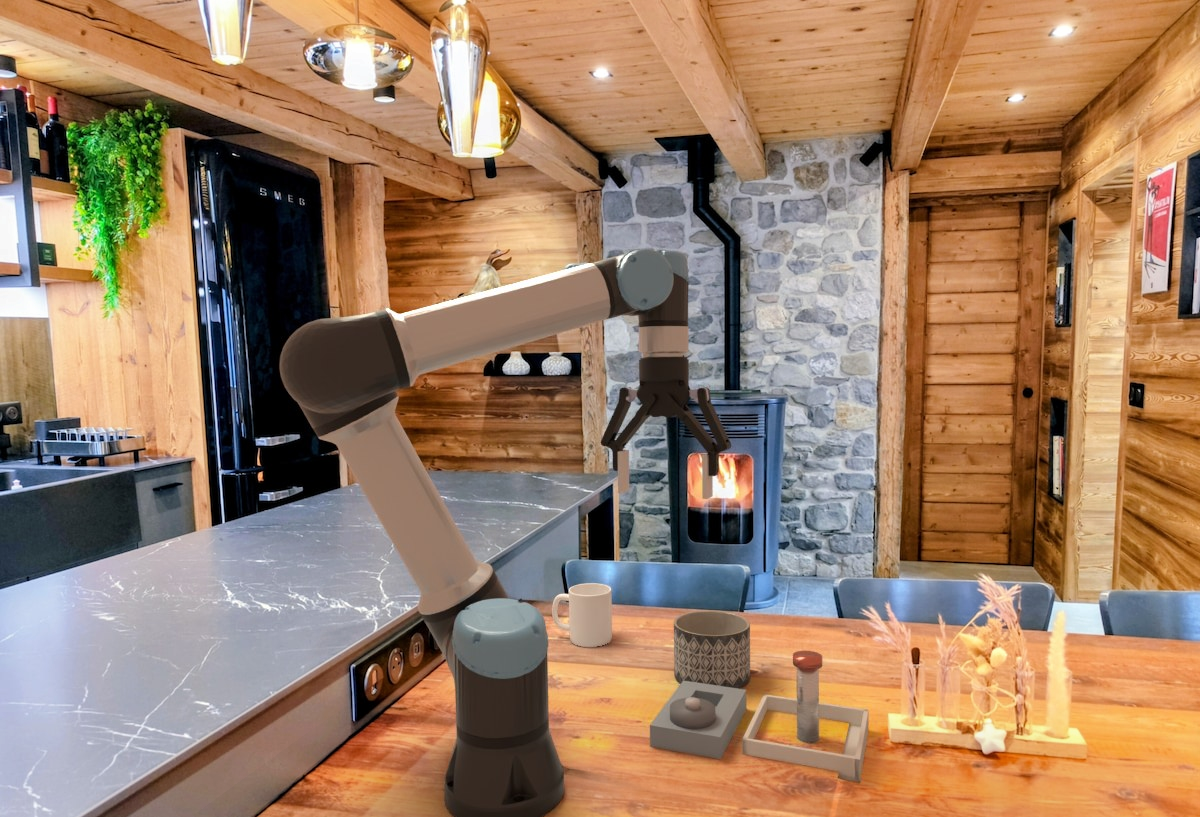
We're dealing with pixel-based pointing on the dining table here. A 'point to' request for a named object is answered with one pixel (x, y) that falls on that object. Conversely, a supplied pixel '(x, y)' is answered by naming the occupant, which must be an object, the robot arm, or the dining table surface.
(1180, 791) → the dining table surface
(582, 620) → the cup
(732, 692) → the block
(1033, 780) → the dining table surface
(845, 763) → the tray
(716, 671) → the planter
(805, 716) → the lock pin
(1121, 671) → the dining table surface
